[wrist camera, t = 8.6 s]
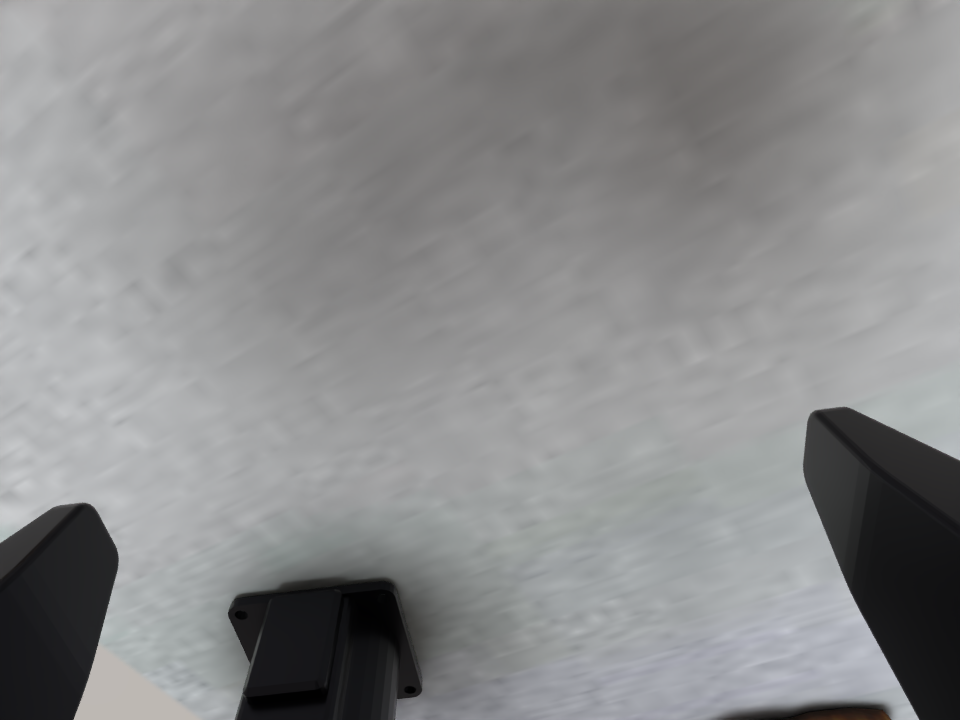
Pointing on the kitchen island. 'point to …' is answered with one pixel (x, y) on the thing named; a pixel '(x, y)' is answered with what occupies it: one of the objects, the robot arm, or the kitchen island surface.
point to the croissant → (843, 715)
